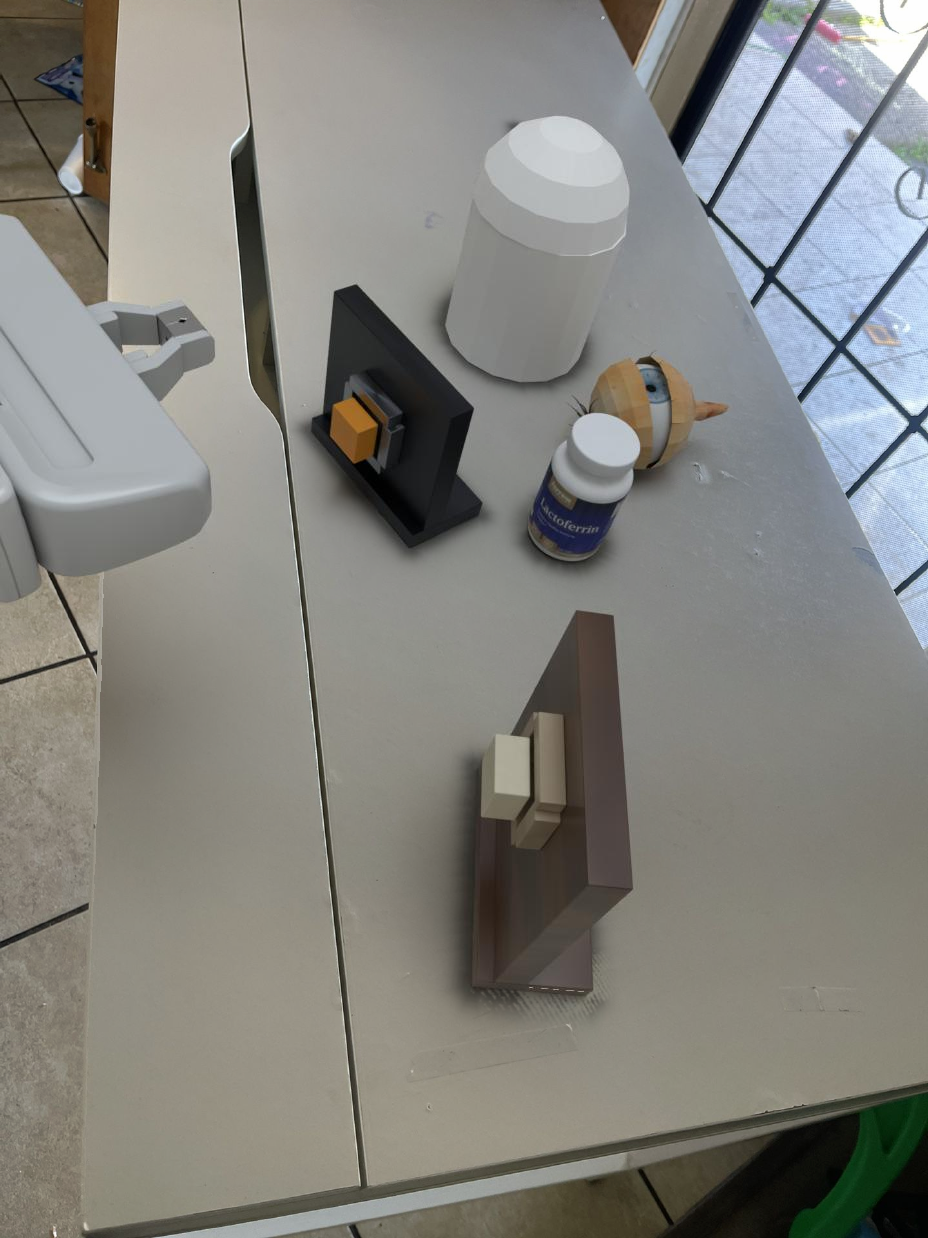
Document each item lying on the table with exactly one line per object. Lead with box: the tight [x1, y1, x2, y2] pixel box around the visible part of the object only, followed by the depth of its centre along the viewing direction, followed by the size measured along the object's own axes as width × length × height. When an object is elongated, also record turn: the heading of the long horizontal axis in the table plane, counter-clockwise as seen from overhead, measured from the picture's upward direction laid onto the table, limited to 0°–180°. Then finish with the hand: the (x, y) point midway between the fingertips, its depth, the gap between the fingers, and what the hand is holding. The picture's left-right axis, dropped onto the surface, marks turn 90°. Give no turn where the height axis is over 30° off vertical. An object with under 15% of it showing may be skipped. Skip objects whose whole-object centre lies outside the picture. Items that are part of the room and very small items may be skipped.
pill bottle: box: [527, 413, 640, 562], centre depth 71 cm, size 6×6×11 cm
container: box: [444, 115, 631, 383], centre depth 80 cm, size 14×13×20 cm
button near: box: [481, 733, 530, 820], centre depth 46 cm, size 2×3×3 cm, turn 178°
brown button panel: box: [471, 609, 634, 997], centre depth 51 cm, size 7×14×20 cm, turn 178°
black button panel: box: [310, 283, 483, 549], centre depth 70 cm, size 7×14×14 cm, turn 38°
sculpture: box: [566, 350, 730, 470], centre depth 78 cm, size 9×9×15 cm
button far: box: [330, 397, 378, 463], centre depth 67 cm, size 2×3×3 cm, turn 38°
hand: (200, 330), depth 45 cm, fingers closed
